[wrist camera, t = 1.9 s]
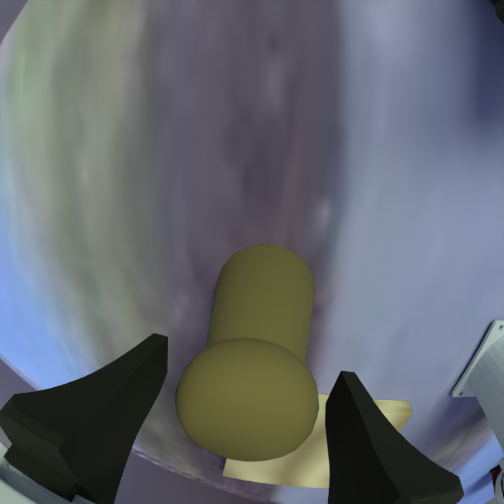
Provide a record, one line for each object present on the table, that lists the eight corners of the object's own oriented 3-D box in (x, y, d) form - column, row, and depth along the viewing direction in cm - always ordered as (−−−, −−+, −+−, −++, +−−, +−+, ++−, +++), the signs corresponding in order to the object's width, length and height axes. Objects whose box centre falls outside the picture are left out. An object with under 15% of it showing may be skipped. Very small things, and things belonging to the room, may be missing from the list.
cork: (298, 340, 20) (298, 487, 10) (210, 318, 20) (152, 455, 10) (328, 259, 18) (367, 399, 7) (227, 233, 18) (152, 351, 8)
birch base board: (408, 400, 21) (412, 413, 20) (348, 477, 26) (348, 488, 25) (245, 382, 22) (242, 395, 20) (224, 465, 27) (222, 475, 25)
